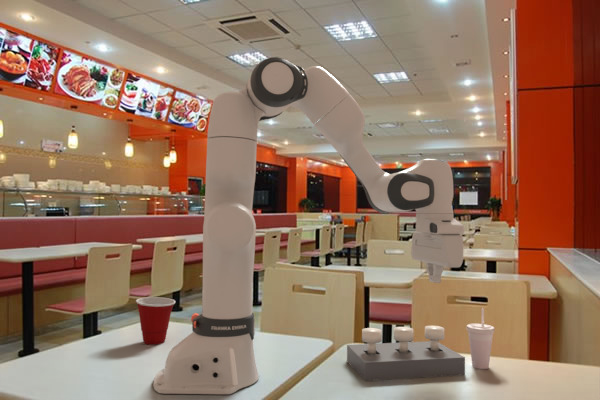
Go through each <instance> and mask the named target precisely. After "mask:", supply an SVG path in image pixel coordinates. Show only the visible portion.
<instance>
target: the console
mask: <svg viewBox="0 0 600 400" xmlns="http://www.w3.org/2000/svg"><path fill="white" fill-rule="evenodd" d="M347 361H348V362H349V363H350V364H351V365H350V364H349V363H348V362H347ZM346 362H347V363H348V364H349V365H350V367H352V368H353V369H354V370H355V372H356V373H357V372H358V373H357V374H358V375H359V376H360V377H361V379H362V380H364V381H365V382H366V381H367V382H368V381H369V382H370V381H386V380H402V379H417V378H436V377H451V376H452V377H453V376H466V357H465V356H464V355H461V354H460V353H458V352H457V351H456V350H455V351H454V350H452V349H451V348H449V347H447V346H445V345H444V344H442V343H440V342H439V351H435V352H431V351H430V340H429V341H410V342H408V353H399V342H385V343H382V342H380V343H376V354H372V355H368V343H364V344H363V343H362V344H347V345H346Z"/></svg>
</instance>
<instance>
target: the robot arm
mask: <svg viewBox="0 0 600 400" xmlns="http://www.w3.org/2000/svg"><path fill="white" fill-rule="evenodd" d="M288 108H295V109H296V110H299V111H300V112H301V113H302V114H304V115H306V116H305V117H307V119H308V120H309V121H310V122H311V123H312V124H313V126H314V128H315V129H317V131H318V132H319V133H320V134H321V135H322V136H323V137H324V138H325V140H327V141H328V142H329V144H331V146H332V147H333V148H334V149H335V151H336V152H337V153H338V154H339V156H340V157H341V159H342V160H343V161H344V163H345V164H346V165H347V166H348V168H349V169H350V170H351V172H352V173H353V175H354V176H355V178H357V180H358V181H359V182H360V184H361V185H362V187H363V190H364V193H365V196H366V199H367V202H368V203H369V205H370V207H371V208H372V209H373V210H375V211H376V212H378V213H380V214H385V215H386V214H387V215H388V214H393V213H402V212H405V213H406V212H410V211H413V210H415V211H416V213H415V231H414V232H413V234H412V238H411V250H410V251H411V252H410V254H411V257H412V260H415V261H418V262H419V261H420V262H423V263H425V268H426V271H427V273H428V281H429V282H431V283H434V284H440V283H441V281H442V275H443V271H444V268H445V267H446V268H460V267H461V266H462V264H463V262H464V238H463V236H462V235H464V234H465V226H464V224H462V223H461V222H459V220H457V219H456V218H454V209H453V206H452V205H453V199H454V179H453V178H454V177H453V172H452V168H451V165H450V164H449V163H448V162H446V161H444V160H441V159H436V158H424V159H420V160H419V161H418V162H417V163H416V164H413V165H412V166H410V167H408V168H405V169H404V170H401V171H398V172H393V173H388V172H386V171H384V170H383V169H382V168H381V167H380V165H379V164H378V162H377V161H376V160H375V159H374V157H373V156H372V154H371V153H370V151H368V149H367V148H366V147H367V146H366V145H365V143H364V140H363V134H364V129H365V123H366V120H365V119H366V118H365V117H366V116H365V114H364V113H363V111H362V108H361V107H360V105H359V103H358V102H357V100H355V98H354V97H353V96H352V95H351V93H350V92H349V91H348V90H347V89H346V87H344V85H343V84H341V82H340V81H338V80H337V79H336V78H335V77H334V76H333V75H332V74H331V73H330V72H328V71H327V70H326V69H325V68H323V67H321V66H318V65H312V66H310V67H309V66H308V67H307V68H305V69H304V68H303V67H301V66H299V65H297V64H294V63H292V62H291V61H289V60H287V59H285V58H282V57H278V56H275V57H274V56H272V57H267V58H265V59H263V60H262V61H260V62H259V63H258V64H257V65H256V66H255V67H254V68H253V70H252V72H251V74H250V76H249V78H248V79H247V82H246V84H245V87H244V88H243V89H242V90H239V91H237V90H228V91H224V92H222V93H219V94H218V95H217V96H216V97H215V98H214V100H213V103H212V107H211V110H210V114H209V115H210V116H209V121H208V128H207V137H206V138H207V140H206V163H205V190H204V193H205V194H204V195H205V196H204V211H203V212H204V216H203V217H204V218H203V223H202V224H203V225H202V232H203V233H202V292H201V293H202V299H201V300H202V301H201V302H202V303H201V306H202V307H201V308H202V309H201V314H200V313H197V312H194V313H193V314H192V315H191V318H190V321H191V323H192V326H191V329H192V332H191V333H189V334H188V335H187V336H186V337H184V339H182V340H181V341H180V342H178V343H177V344H176V345H174V346H173V347H172V348H171V349H170V351H169V353H168V354H167V357H166V360H165V365H164V368H163V369H161V370H160V371H158V372H157V373H156V374H155V376H154V379H153V387H152V388H153V389H154V391H155V392H156V393H158V394H166V395H167V394H171V395H172V394H174V395H175V394H177V395H179V394H180V395H231V394H234V393H235V392H237V391H239V390H240V389H243V388H246V387H248V386H251V385H253V384H255V383H256V382H258V380H259V378H260V375H259V372H258V367H257V363H256V359H255V358H256V355H255V349H254V348H255V347H254V340H255V333H256V332H255V331H256V326H255V325H256V323H255V321H256V320H255V315H254V313H253V299H254V298H253V291H254V290H253V289H254V287H253V285H254V283H253V282H254V280H253V279H254V267H255V256H256V255H255V253H256V237H257V236H256V234H257V225H256V220H255V217H254V215H253V205H254V204H253V203H254V194H255V183H256V175H257V174H256V173H257V172H256V171H257V170H256V169H257V147H258V143H257V142H258V127H259V123H260V122H261V121H266V120H270V119H274V118H277V117H278V116H280V115H282V114H283V112H285V111H286V110H287V109H288Z"/></svg>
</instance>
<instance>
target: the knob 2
mask: <svg viewBox="0 0 600 400" xmlns="http://www.w3.org/2000/svg"><path fill="white" fill-rule="evenodd" d="M424 338H425V339H427V340H429V341H430V351H431V352H435V351H439V343H440V341H443V340H445V327H442V326H439V325H425V326H424Z"/></svg>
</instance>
